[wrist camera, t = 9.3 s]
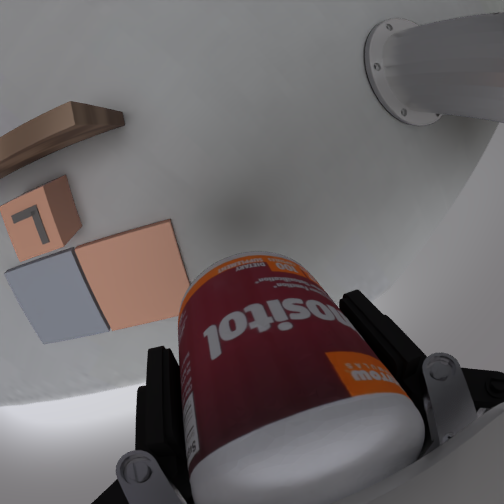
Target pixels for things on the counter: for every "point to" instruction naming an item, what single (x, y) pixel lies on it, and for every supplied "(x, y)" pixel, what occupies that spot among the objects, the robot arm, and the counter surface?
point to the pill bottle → (283, 390)
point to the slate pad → (57, 298)
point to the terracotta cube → (41, 219)
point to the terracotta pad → (136, 274)
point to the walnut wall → (54, 133)
